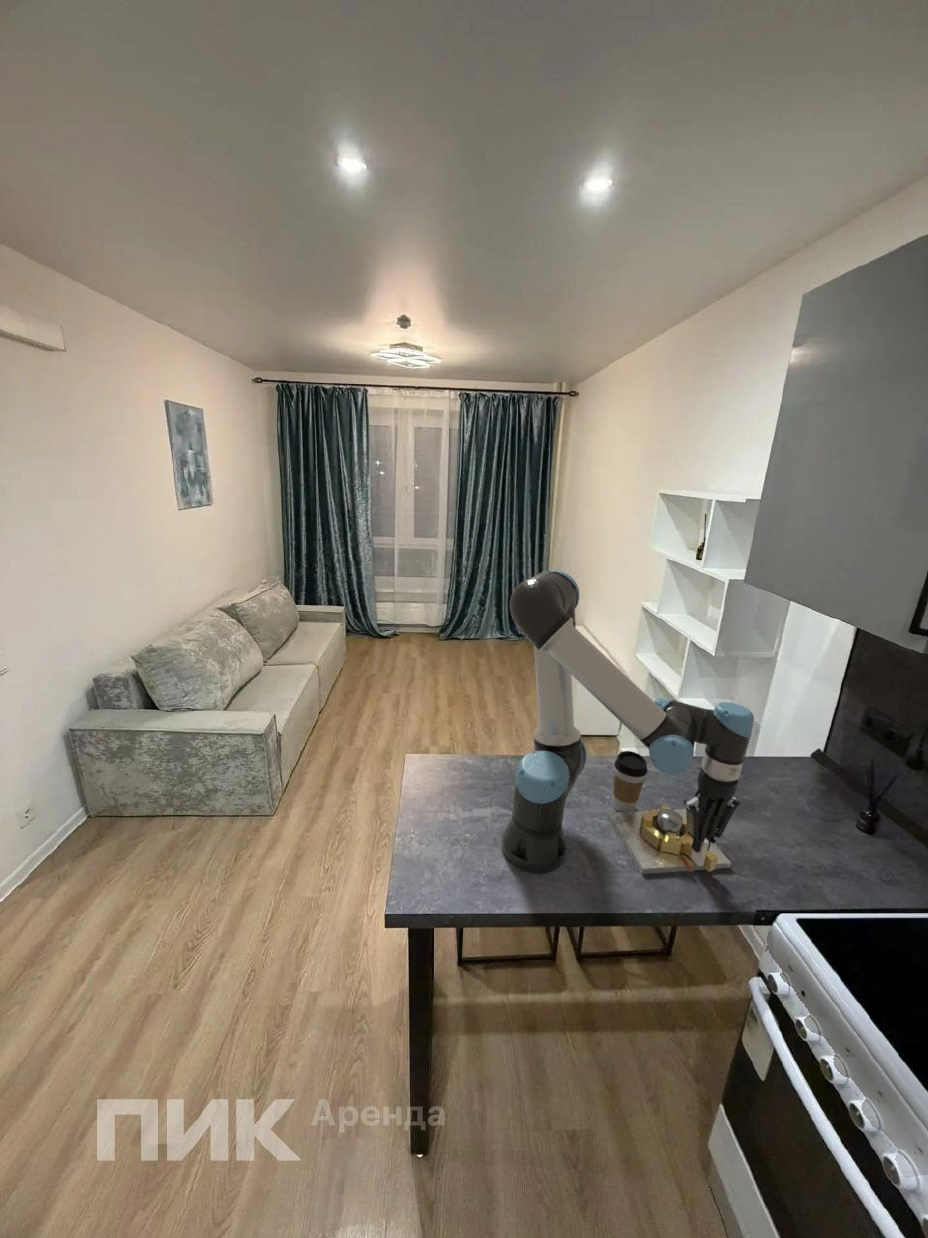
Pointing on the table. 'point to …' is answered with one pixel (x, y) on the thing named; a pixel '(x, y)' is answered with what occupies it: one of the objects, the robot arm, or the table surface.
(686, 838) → the brass ball clamp
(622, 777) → the coffee cup
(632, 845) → the flange plate
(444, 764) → the table surface
